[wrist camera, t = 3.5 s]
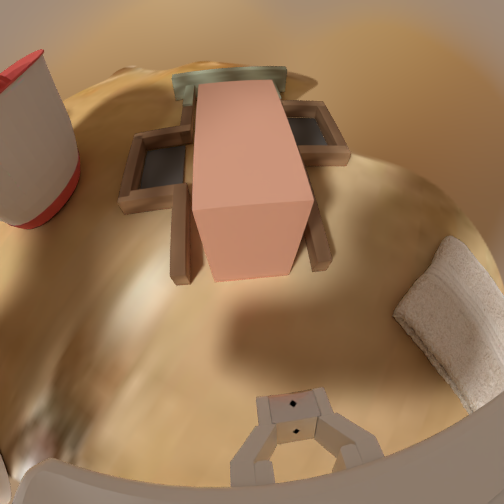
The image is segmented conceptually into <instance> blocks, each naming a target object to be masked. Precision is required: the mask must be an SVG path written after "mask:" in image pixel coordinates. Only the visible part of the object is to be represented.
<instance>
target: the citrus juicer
mask: <svg viewBox="0 0 504 504" xmlns="http://www.w3.org/2000/svg"><path fill="white" fill-rule="evenodd" d="M43 53H44V50H42V49H41V50H37V51H35V52H33V53H31V54H29V55H27V56H26V57H24V58H22V59H20V60H19V61H17V62H16V63H14V64H13V65H11V66H10V67H9V68H7V69H6V70H4V71H3V72H2V73H0V221H3V222H5V223H7V224H9V225H10V226H14V227H18V228H22V229H33V228H36V227H38V226H40V225H42V224H44V223H45V222H47V221H48V220H49V219H51V218H52V217H53V216H54V215H55V214H56V213H57V212H58V211H59V210H60V209H61V208H62V207H63V206H64V205H65V203H66V202H67V201H68V199H69V198H70V196H71V195H72V193H73V191H74V190H75V188H76V185H77V183H78V180H79V177H80V157H79V151H78V148H77V144H76V139H75V134H74V131H73V127H72V124H71V121H70V118H69V116H68V113H67V111H66V108H65V106H64V104H63V102H62V100H61V98H60V95H59V93H58V91H57V89H56V87H55V84H54V82H53V79H52V77H51V75H50V72H49V70H48V67H47V65H46V62H45V60H44V57H43Z"/></svg>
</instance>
